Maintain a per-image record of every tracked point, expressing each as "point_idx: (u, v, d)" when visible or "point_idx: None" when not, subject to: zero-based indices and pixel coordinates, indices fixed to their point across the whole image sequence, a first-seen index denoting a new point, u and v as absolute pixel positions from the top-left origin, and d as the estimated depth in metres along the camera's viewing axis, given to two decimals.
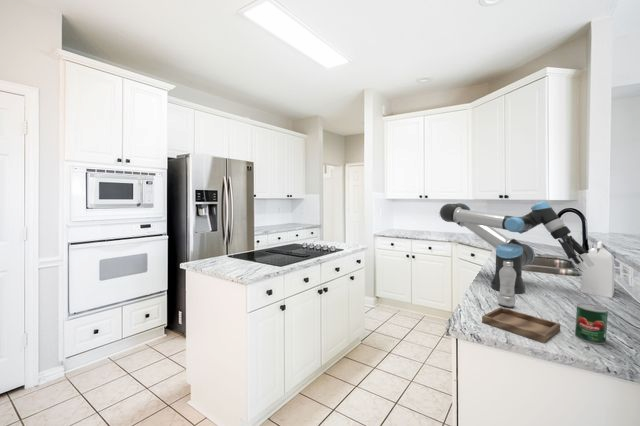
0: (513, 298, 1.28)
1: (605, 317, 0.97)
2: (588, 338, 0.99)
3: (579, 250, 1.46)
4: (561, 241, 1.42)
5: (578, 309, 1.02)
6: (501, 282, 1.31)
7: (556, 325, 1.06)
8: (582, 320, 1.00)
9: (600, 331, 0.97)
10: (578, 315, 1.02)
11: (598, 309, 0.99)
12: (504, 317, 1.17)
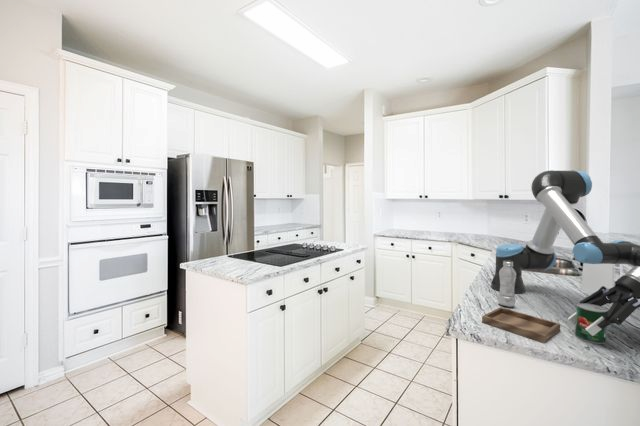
0: (513, 298, 1.28)
1: None
2: (587, 338, 0.99)
3: None
4: (634, 304, 0.93)
5: (578, 309, 1.02)
6: (501, 282, 1.31)
7: (556, 325, 1.06)
8: (582, 320, 1.00)
9: (600, 330, 0.97)
10: (578, 315, 1.02)
11: (598, 309, 0.99)
12: (504, 317, 1.17)
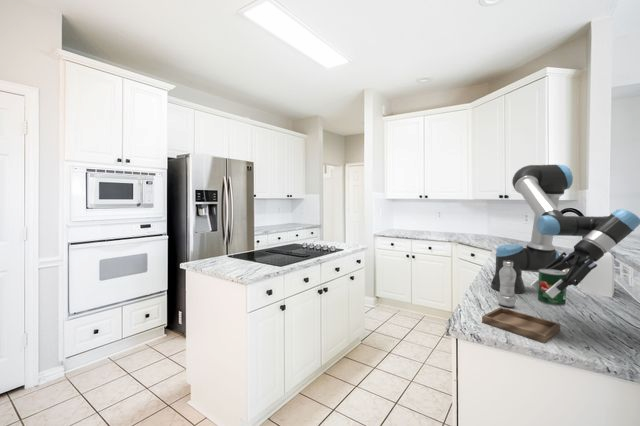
0: (513, 298, 1.28)
1: None
2: (548, 301, 1.02)
3: None
4: (590, 265, 0.96)
5: (539, 274, 1.05)
6: (501, 282, 1.31)
7: (556, 325, 1.06)
8: (543, 284, 1.03)
9: (560, 293, 1.01)
10: (539, 279, 1.05)
11: (558, 273, 1.03)
12: (504, 317, 1.17)
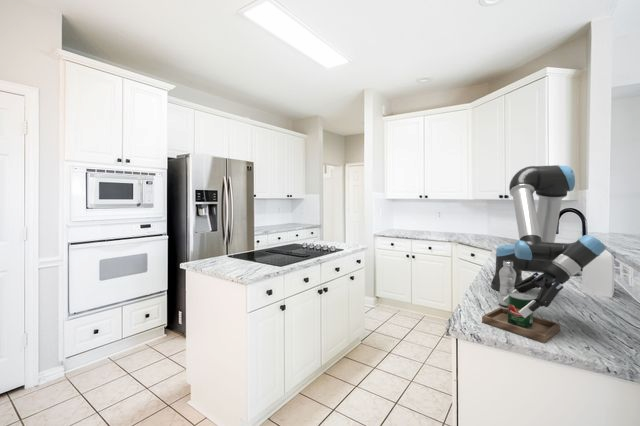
0: None
1: None
2: (516, 324, 1.08)
3: (524, 289, 1.14)
4: (557, 287, 1.01)
5: (509, 297, 1.11)
6: (501, 282, 1.31)
7: (556, 325, 1.06)
8: (511, 307, 1.09)
9: (526, 317, 1.06)
10: (509, 303, 1.11)
11: (526, 297, 1.09)
12: (504, 317, 1.17)
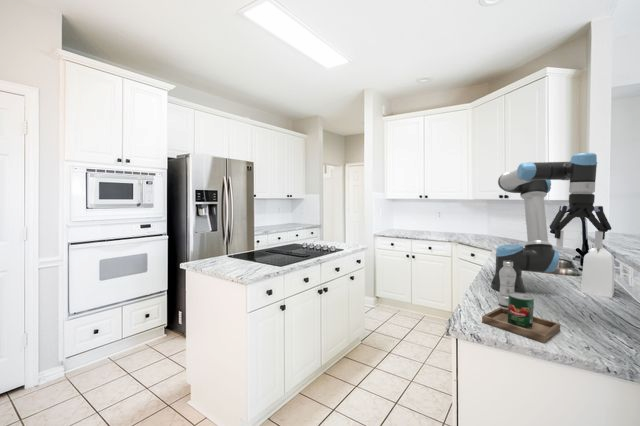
0: None
1: (530, 304, 1.06)
2: (516, 324, 1.08)
3: (597, 226, 1.15)
4: (560, 209, 1.17)
5: (509, 297, 1.11)
6: (501, 282, 1.31)
7: (556, 325, 1.06)
8: (511, 307, 1.09)
9: (526, 317, 1.06)
10: (509, 303, 1.11)
11: (526, 297, 1.09)
12: (504, 317, 1.17)
